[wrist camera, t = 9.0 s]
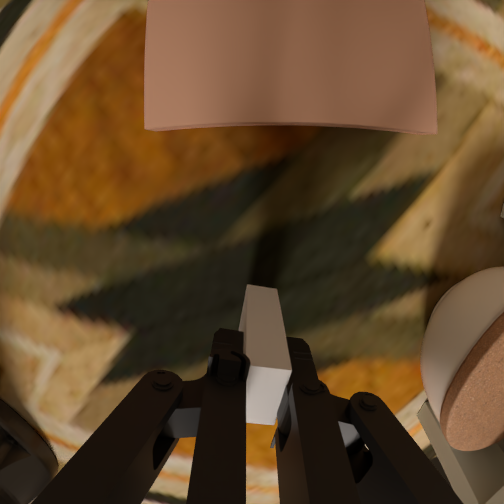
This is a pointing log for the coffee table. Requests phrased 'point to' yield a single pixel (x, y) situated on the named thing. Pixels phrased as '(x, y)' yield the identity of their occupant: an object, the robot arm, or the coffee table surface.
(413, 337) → the coffee table surface
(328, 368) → the coffee table surface
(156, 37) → the book
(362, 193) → the coffee table surface
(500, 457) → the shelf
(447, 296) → the lidded jar
